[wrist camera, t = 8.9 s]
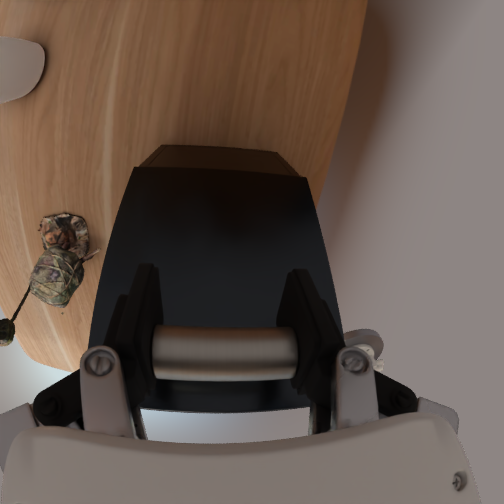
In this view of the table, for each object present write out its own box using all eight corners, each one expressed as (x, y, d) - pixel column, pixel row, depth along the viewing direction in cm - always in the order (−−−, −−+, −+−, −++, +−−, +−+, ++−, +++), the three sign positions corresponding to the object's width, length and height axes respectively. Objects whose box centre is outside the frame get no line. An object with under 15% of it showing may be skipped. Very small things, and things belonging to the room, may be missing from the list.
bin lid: (346, 400, 13) (406, 386, 8) (89, 400, 10) (36, 387, 6) (303, 184, 22) (324, 132, 17) (135, 173, 19) (127, 117, 15)
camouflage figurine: (100, 270, 37) (54, 383, 20) (40, 247, 33) (-24, 341, 16) (108, 225, 33) (43, 340, 16) (43, 201, 29) (-43, 291, 13)
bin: (259, 261, 39) (273, 316, 30) (162, 258, 37) (149, 313, 28) (277, 152, 31) (303, 178, 22) (161, 144, 29) (135, 168, 20)
